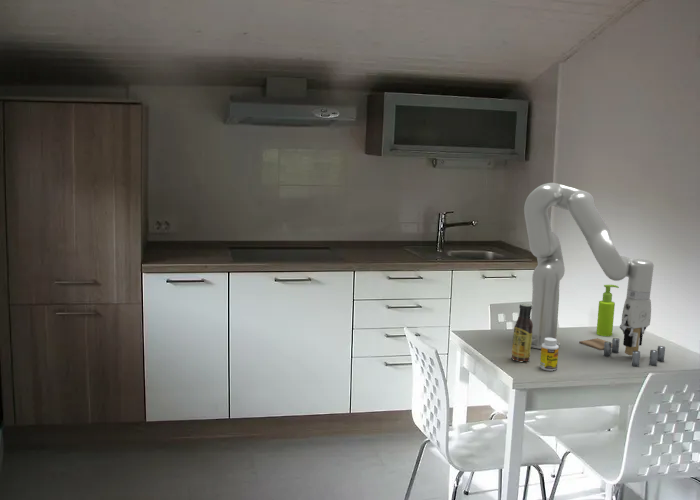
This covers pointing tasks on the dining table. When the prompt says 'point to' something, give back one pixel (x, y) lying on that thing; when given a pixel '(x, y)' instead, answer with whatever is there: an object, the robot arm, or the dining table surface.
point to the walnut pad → (594, 343)
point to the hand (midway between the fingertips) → (632, 344)
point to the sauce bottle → (522, 334)
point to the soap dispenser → (606, 313)
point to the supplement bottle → (549, 354)
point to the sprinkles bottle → (634, 341)
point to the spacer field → (635, 353)
